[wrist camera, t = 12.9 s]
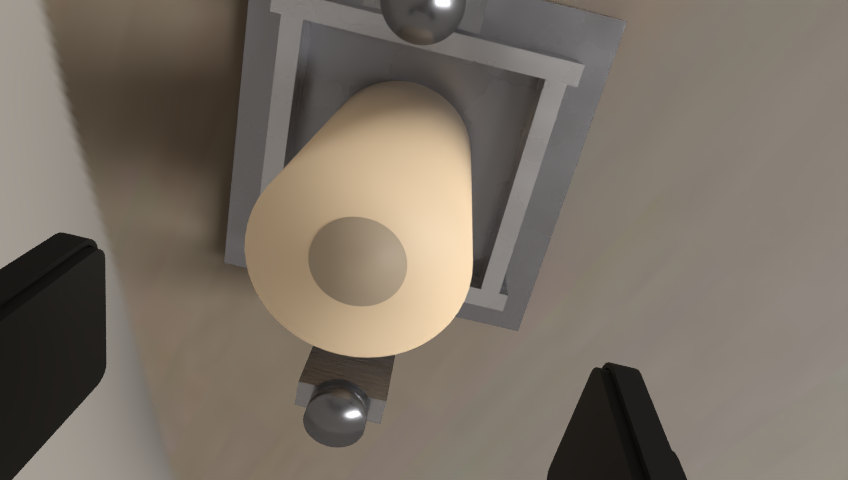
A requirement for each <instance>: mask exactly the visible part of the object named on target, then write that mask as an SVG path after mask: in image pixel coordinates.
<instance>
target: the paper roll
mask: <svg viewBox="0 0 848 480" xmlns="http://www.w3.org/2000/svg"><path fill="white" fill-rule="evenodd" d="M245 257H246V265H247V269H248V272H249V276H250V279H251V281H252V284H253V286H254V289H255V291H256V292H257V294H258V296H259V298H260V299H261V301H262V303H263V304H264V305H265V307H266V308H267V309H268V311H269V312H270V313H271V314H272V315H273V316H274V317H275V319H276V320H277V321H278V322H279V323H280V324H282V325H283V326H284V327H285V328H286V329H288V330H289V331H290V332H291V333H293V334H294V335H296V336H297V337H299V338H300V339H302V340H304V341H306V342H308V343H310V344H311V345H313V346H316V347H318V348H321V349H323V350H326V351H329V352H333V353H336V354H340V355H346V356H352V357H366V358H369V357H383V356H390V355H395V354H399V353H402V352H406V351H408V350H411V349H413V348H416V347H418V346H420V345H422V344H424V343H425V342H427V341H429V340H431V339H432V338H433V337H435V336H436V335H437V334H439V333H440V332H441V331H442V330H443V329H444V328H445V327H446V326H447V325H448V324H449V323H450V322H451V321H452V320H453V318H454V317H455V316H456V314H457V313H458V312H459V310H460V308H461V306H462V304H463V303H464V301H465V298H466V295H467V293H468V290H469V287H470V282H471V278H472V268H473V239H472V183H471V147H470V140H469V135H468V132H467V129H466V127H465V124H464V122H463V120H462V119H461V117H460V115H459V114H458V112H457V111H456V110H455V108H454V107H453V106H452V105H451V104H450V103H449V102H448V101H447V100H446V99H445V98H443V97H442V96H441V95H440V94H438V93H436V92H435V91H433V90H432V89H429V88H427V87H425V86H423V85H420V84H416V83H413V82H407V81H385V82H380V83H376V84H373V85H371V86H368V87H365V88H364V89H362V90H360V91H358V92H357V93H355V94H354V95H353V96H352V97H350V98H349V99H348V100H347V101H346V102H345V103H344V104H343V105H342V106H341V107H340V108H339V110H338V111H337V112H336V113H335V114H334V115H333V116H332V117H331V118H330V119H329V120H328V121H327V122H326V124H325V125H324V126H323V127H322V128H321V129H320V130H319V131H318V132H317V133H316V134H315V135H314V136H313V138H312V139H311V140H310V141H309V142H308V143H307V144H306V145H305V146H304V147H303V148H302V149H301V150H300V152H299V153H298V154H297V155H296V156H295V157H294V158H293V159H292V160H291V161H290V162H289V163H288V164H287V166H286V167H285V168H284V169H283V170H282V171H281V172H280V173H279V174H278V175H277V176H276V177H275V178H274V180H273V181H272V182H271V183H270V184H269V185H268V186H267V187H266V188H265V190H264V191H263V193H262V194H261V195H260V197H259V198H258V200H257V202H256V204H255V205H254V207H253V209H252V211H251V214H250V217H249V220H248V223H247V229H246V234H245Z"/></svg>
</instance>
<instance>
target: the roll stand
mask: <svg viewBox="0 0 848 480" xmlns="http://www.w3.org/2000/svg"><path fill="white" fill-rule="evenodd" d="M626 23H627V21H624V20H620V19H616V18H612V17H608V16H604V15H600V14H596V13H592V12H588V11H585V10H581V9H577V8H573V7H569V6H565V5H561V4H557V3H553V2H549V1H545V0H248V11H247V22H246V33H245V43H244V54H243V65H242V75H241V86H240V97H239V108H238V118H237V129H236V140H235V150H234V161H233V172H232V183H231V193H230V204H229V215H228V225H227V236H226V247H225V258H224V263H227V264H231V265H236V266H240V267H244V268H247V265H246V257H245V234H246V229H247V223H248V220H249V217H250V214H251V211H252V209H253V207H254V205H255V204H256V202H257V200H258V198H259V197H260V195H261V194H262V193H263V191H264V190H265V188H266V187H267V186H268V185H269V184H270V183H271V182H272V181H273V180H274V178H275V177H276V176H277V175H278V174H279V173H280V172H281V171H282V170H283V169H284V168H285V167H286V166H287V164H288V163H289V162H290V161H291V160H292V159H293V158H294V157H295V156H296V155H297V154H298V153H299V152H300V150H301V149H302V148H303V147H304V146H305V145H306V144H307V143H308V142H309V141H310V140H311V139H312V138H313V136H314V135H315V134H316V133H317V132H318V131H319V130H320V129H321V128H322V127H323V126H324V125H325V124H326V122H327V121H328V120H329V119H330V118H331V117H332V116H333V115H334V114H335V113H336V112H337V111H338V110H339V108H340V107H341V106H342V105H343V104H344V103H345V102H346V101H347V100H348V99H349V98H350V97H352V96H353V95H354V94H355V93H357V92H358V91H360V90H362V89H364V88H365V87H368V86H371V85H373V84H376V83H380V82H385V81H407V82H413V83H416V84H420V85H423V86H425V87H427V88H429V89H432V90H433V91H435V92H436V93H438V94H440V95H441V96H442V97H443V98H445V99H446V100H447V101H448V102H449V103H450V104H451V105H452V106H453V107H454V108H455V110H456V111H457V112H458V114H459V115H460V117H461V119H462V120H463V122H464V124H465V127H466V129H467V132H468V135H469V140H470V147H471V183H472V239H473V268H472V278H471V282H470V287H469V290H468V293H467V295H466V298H465V301H464V303H463V304H462V306H461V308H460V310H459V312H458V313H457V314H456V316H455V317H460V318H464V319H468V320H472V321H477V322H481V323H485V324H490V325H494V326H498V327H503V328H507V329H511V330H516V331H518V329H519V327H520V324H521V321H522V318H523V315H524V312H525V310H526V307H527V304H528V301H529V298H530V295H531V293H532V290H533V287H534V284H535V281H536V278H537V275H538V273H539V270H540V267H541V264H542V261H543V258H544V256H545V253H546V250H547V247H548V244H549V241H550V239H551V236H552V233H553V230H554V227H555V224H556V222H557V219H558V216H559V213H560V210H561V207H562V204H563V202H564V199H565V196H566V193H567V190H568V187H569V185H570V182H571V179H572V176H573V173H574V170H575V168H576V165H577V162H578V159H579V156H580V153H581V150H582V148H583V145H584V142H585V139H586V136H587V133H588V131H589V128H590V125H591V122H592V119H593V116H594V114H595V111H596V108H597V105H598V102H599V99H600V96H601V94H602V91H603V88H604V85H605V82H606V79H607V77H608V74H609V71H610V68H611V65H612V62H613V60H614V57H615V54H616V51H617V48H618V45H619V43H620V40H621V37H622V34H623V31H624V28H625V25H626ZM394 358H395V355H390V356H383V357H369V358H366V357H352V356H346V355H340V354H336V353H333V352H329V351H326V350H323V349H321V348H318V347H316V346H313V348H312V350H311V353H310V355H309V358H308V360H307V362H306V365H305V367H304V370H303V372H302V375H301V377H300V379H299V382H298V388H297V394H296V400H295V405H299V406H303V407H307V408H306V411H305V414H304V418H303V422H304V427H305V429H306V431H307V433H308V434H309V435H310V436H311V437H312V438H313V439H314V440H316V441H317V442H319V443H321V444H323V445H326V446H330V447H345V446H349V445H352V444H354V443H355V442H357V441H358V440H359V439H360V438H361V436H362V435H363V432H364V429H365V425H366V421H370V422H374V423H379V424H381V420H382V416H383V412H384V408H385V404H386V400H387V395H388V389H389V384H390V379H391V374H392V368H393V363H394Z"/></svg>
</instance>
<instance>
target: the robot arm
mask: <svg viewBox="0 0 848 480" xmlns="http://www.w3.org/2000/svg"><path fill="white" fill-rule="evenodd" d="M105 369H106V296H105V254H104V252H103V251H102V250H100V249H98V248H97V244H96V243H95V241H94V240H92V239H88V238H84V237H80V236H75V235H71V234H66V233H57V234H55V235H53V236H52V237H50V238H49V239H47V240H46V241H44V242H42V243H41V244H40V245H38V246H36V247H35V248H33V249H31V250H30V251H28V252H27V253H25V254H24V255H22V256H20V257H19V258H17V259H16V260H14V261H13V262H11V263H9V264H8V265H6V266H5V267H3V268H2V269H0V480H12V479H13V478H14V477H15V476H16V475H17V474H18V472H19V471H20V470H21V469H22V468H23V467H24V466H25V464H27V462H28V461H29V460H30V459H31V458H32V457H33V456H34V454H36V452H37V451H38V450H39V449H40V448H41V447H42V446H43V445H44V444H45V443H46V441H47V440H48V439H49V438H50V437H51V436H52V435H53V434H54V433H55V431H56V430H57V429H58V428H59V427H60V426H61V425H62V424H63V423H64V421H65V420H66V419H67V418H68V417H69V416H70V415H71V414H72V413H73V411H74V410H75V409H76V408H77V407H78V406H79V405H80V404H81V403H82V402H83V400H85V398H86V397H87V396H88V395H89V394H90V393H91V392H92V391H93V390H94V388H95V387H96V386H97V385H98V384H99V382H100V381H101V379H102V377H103V375H104V373H105ZM547 480H687V478H686V476H685V473H684V471H683V468H682V466H681V464H680V461H679V459H678V457H677V456H676V454H675V452H673V451H672V450H671V447H670V445H669V442H668V440H667V437H666V435H665V433H664V430H663V428H662V425H661V423H660V420H659V418H658V415H657V413H656V410H655V408H654V405H653V403H652V400H651V398H650V395H649V393H648V390H647V388H646V385H645V383H644V380H643V378H642V375H641V373H640V372H639V370H637V369H635V368H631V367H626V366H622V365H618V364H614V363H610V362H608V363H606V364H605V365H604V366H603V367H602V368H597V367H596V368H594V369H593V370H592V372H591V374H590V376H589V378H588V381H587V383H586V385H585V388H584V390H583V392H582V394H581V397H580V399H579V401H578V404H577V406H576V408H575V410H574V413H573V415H572V417H571V420H570V422H569V424H568V427H567V429H566V431H565V433H564V436H563V438H562V440H561V443H560V445H559V447H558V449H557V452H556V454H555V456H554V459H553V461H552V463H551V465H550V468H549V471H548V475H547Z"/></svg>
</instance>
